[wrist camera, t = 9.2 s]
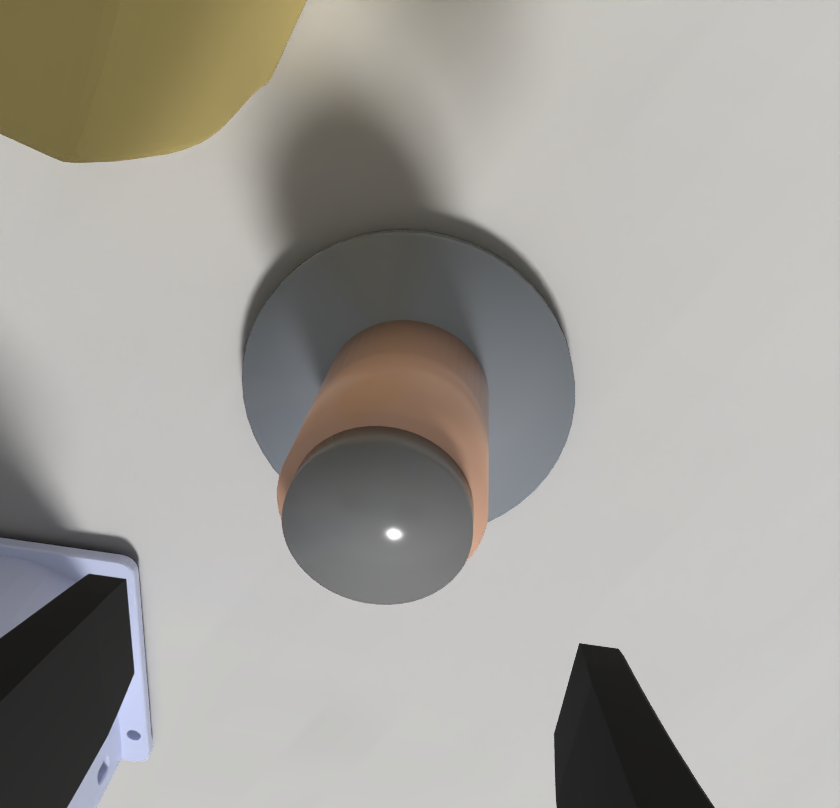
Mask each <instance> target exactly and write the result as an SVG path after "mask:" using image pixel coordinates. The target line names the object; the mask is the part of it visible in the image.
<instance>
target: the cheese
mask: <svg viewBox="0 0 840 808" xmlns="http://www.w3.org/2000/svg"><path fill="white" fill-rule="evenodd" d="M306 1H307V0H0V134H2V135H4V136H6V137H9V138H11V139H13V140H15V141H18V142H20V143H22V144H24V145H26V146H29V147H31V148H33V149H35V150H37V151H39V152H42V153H44V154H46V155H48V156H50V157H53V158H55V159H58V160H60V161H63V162H71V163H87V162H111V161H121V160H130V159H137V158H144V157H150V156H157V155H165V154H170V153H173V152H177V151H181V150H184V149H187V148H189V147H191V146H194V145H196V144H199V143H201V142H203V141H205V140H206V139H208V138H209V137H211V136H212V135H214V134H215V133H216V132H218V131H219V130H220V129H221V128H222V127H223V126H224V125H225V124H226V123H227V122H228V121H229V120H230V119H231V118H232V117H233V116H234V114H235V113H236V112H237V111H238V110H239V109H240V108H241V107H242V106H243V104H244V103H245V102H246V101H247V100H248V99H249V98H250V97H251V96H252V95H253V93H255V92H256V91H257V90H258V89H259V88H261V87H262V86H264V85H266V83H267V82H268V81H269V80H270V78H271V77H272V75H273V73H274V71H275V69H276V66H277V64H278V62H279V60H280V57H281V55H282V53H283V51H284V49H285V46H286V44H287V42H288V40H289V37H290V35H291V33H292V31H293V29H294V27H295V25H296V22H297V20H298V18H299V16H300V14H301V12H302V10H303V7H304V5H305V3H306Z"/></svg>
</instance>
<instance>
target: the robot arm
mask: <svg viewBox="0 0 840 808" xmlns="http://www.w3.org/2000/svg"><path fill="white" fill-rule="evenodd" d="M554 747H555V785H556V804H557V808H715V807H714V806H713V804H712V803H711V801H710V800H709V798H708V797H707V795H706V794H705V792H704V791H703V789H702V788H701V786H700V785H699V783H698V782H697V780H696V779H695V777H694V775H693V774H692V772H691V771H690V769H689V767H688V766H687V764H686V763H685V761H684V760H683V758H682V756H681V755H680V753H679V752H678V750H677V748H676V747H675V745H674V744H673V742H672V740H671V739H670V737H669V735H668V734H667V732H666V730H665V729H664V727H663V725H662V724H661V722H660V720H659V718H658V717H657V715H656V713H655V711H654V710H653V708H652V706H651V705H650V703H649V701H648V699H647V697H646V696H645V694H644V692H643V690H642V689H641V687H640V685H639V683H638V681H637V680H636V678H635V676H634V674H633V672H632V670H631V668H630V667H629V665H628V663H627V661H626V659H625V657H624V656H623V654H622V653H621V652H620V650H619V649H616V648H609V647H602V646H595V645H588V644H581V643H579V646H578V650H577V654H576V657H575V661H574V664H573V668H572V672H571V675H570V679H569V682H568V686H567V690H566V693H565V697H564V700H563V704H562V708H561V711H560V715H559V718H558V722H557V726H556V729H555V733H554ZM151 751H152V735H151V722H150V710H149V697H148V685H147V672H146V660H145V647H144V634H143V622H142V609H141V597H140V584H139V572H138V567H137V564H136V563H135V562H134V560H132V559H131V558H129V557H128V556H124V555H120V554H113V553H105V552H98V551H91V550H84V549H77V548H70V547H63V546H56V545H49V544H42V543H35V542H28V541H21V540H14V539H7V538H0V808H97V806H98V804H99V802H100V800H101V798H102V796H103V794H104V792H105V790H106V788H107V786H108V784H109V782H110V780H111V778H112V776H113V774H114V772H115V770H116V768H117V766H118V764H119V762H120V760H127V761H134V762H142V761H145V760H147V759H148V758H149V756H150V754H151Z"/></svg>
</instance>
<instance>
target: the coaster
mask: <svg viewBox="0 0 840 808" xmlns="http://www.w3.org/2000/svg"><path fill="white" fill-rule="evenodd" d="M395 320H412V321H420V322H424V323H429V324H432V325H434V326H437V327H440V328H442V329H444V330H446V331H448V332H450V333H451V334H453V335H454V336H456V337H457V338H459V339H460V340H461V341H462V342H463V343H464V344H465V345H467V346H468V348H469V349H470V350H471V351H472V352H473V353H474V355H475V356H476V358H477V359H478V361H479V362H480V364H481V366H482V369H483V371H484V373H485V376H486V380H487V384H488V390H489V491H488V520H487V522H489V521H491V520H493V519H495V518H497V517H499V516H501V515H503V514H505V513H506V512H508V511H509V510H511V509H512V508H514V507H515V506H517V505H518V504H519V503H521V502H522V501H523V500H524V499H525V498H526V497H528V496H529V495H530V494H531V493H532V492H533V491H534V490H535V489H536V488H537V487H538V486H539V485H540V484H541V482H542V481H543V480H544V479H545V478H546V477H547V475H548V474H549V472H550V471H551V469H552V468H553V466H554V465H555V463H556V462H557V460H558V458H559V456H560V454H561V452H562V450H563V448H564V446H565V444H566V441H567V438H568V434H569V431H570V428H571V425H572V419H573V413H574V406H575V381H574V374H573V367H572V361H571V357H570V354H569V350H568V347H567V344H566V340H565V337H564V334H563V332H562V330H561V327H560V325H559V323H558V321H557V319H556V317H555V315H554V313H553V312H552V310H551V309H550V307H549V306H548V304H547V302H546V301H545V299H544V298H543V297H542V295H541V294H540V293H539V292H538V291H537V290H536V289H535V287H534V286H533V285H532V284H531V283H530V282H529V281H528V280H527V279H526V278H525V277H524V276H523V275H522V274H521V273H519V272H518V271H517V270H516V269H515V268H514V267H513V266H511V265H510V264H508V263H507V262H505V261H504V260H502V259H501V258H499V257H498V256H496V255H495V254H493V253H491V252H489V251H487V250H485V249H483V248H481V247H479V246H477V245H475V244H473V243H471V242H468V241H465V240H462V239H459V238H456V237H453V236H450V235H445V234H440V233H435V232H430V231H421V230H406V229H401V230H386V231H377V232H372V233H367V234H362V235H357V236H355V237H352V238H349V239H346V240H343V241H340V242H337V243H335V244H333V245H331V246H329V247H327V248H325V249H323V250H321V251H320V252H318V253H316V254H314V255H313V256H312V257H310V258H309V259H307V260H306V261H305V262H303V263H302V264H300V265H299V266H298V267H297V268H296V269H295V270H294V271H293V272H292V273H291V274H290V275H288V276H287V277H286V278H285V279H284V280H283V282H282V283H281V284H280V285H279V286H278V288H277V289H276V290H275V291H274V293H273V294H272V295H271V296H270V298H269V299H268V300H267V302H266V303H265V304H264V306H263V308H262V310H261V311H260V313H259V315H258V317H257V319H256V320H255V322H254V325H253V328H252V330H251V333H250V335H249V338H248V341H247V346H246V350H245V355H244V359H243V372H242V386H243V399H244V404H245V408H246V413H247V418H248V420H249V423H250V426H251V429H252V432H253V434H254V437H255V439H256V441H257V442H258V444H259V446H260V448H261V450H262V452H263V454H264V455H265V457H266V458H267V460H268V461H269V463H270V464H271V466H272V467H273V469H274V470H275V471H276V472H277V473H278V474H279V475H280V472H281V469H282V466H283V464H284V462H285V460H286V458H287V456H288V454H289V452H290V450H291V447H292V445H293V443H294V441H295V439H296V437H297V435H298V433H299V431H300V429H301V427H302V425H303V423H304V420H305V418H306V416H307V414H308V412H309V410H310V408H311V406H312V404H313V402H314V400H315V398H316V395H317V393H318V391H319V389H320V387H321V385H322V383H323V381H324V379H325V377H326V375H327V373H328V371H329V368H330V366H331V364H332V362H333V360H334V358H335V356H336V355H337V353H338V352H339V351H340V349H341V348H342V347H343V346H344V345H345V344H346V343H347V341H348V340H350V339H351V338H352V337H353V336H355V335H356V334H358V333H359V332H361V331H363V330H364V329H366V328H369V327H371V326H373V325H376V324H379V323H383V322H388V321H395Z"/></svg>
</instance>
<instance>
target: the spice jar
mask: <svg viewBox="0 0 840 808" xmlns="http://www.w3.org/2000/svg"><path fill="white" fill-rule="evenodd" d="M488 491H489V390H488V384H487V380H486V376H485V373H484V371H483V369H482V366H481V364H480V362H479V361H478V359H477V358H476V356H475V355H474V353H473V352H472V351H471V350H470V349H469V348H468V346H467V345H465V344H464V343H463V342H462V341H461V340H460V339H459V338H457V337H456V336H454V335H453V334H451V333H450V332H448V331H446V330H444V329H442V328H440V327H437V326H434V325H432V324H429V323H424V322H420V321H412V320H395V321H388V322H383V323H379V324H376V325H373V326H371V327H369V328H366V329H364V330H363V331H361V332H359V333H358V334H356V335H355V336H353V337H352V338H351V339H350V340H348V341H347V343H346V344H345V345H344V346H343V347H342V348H341V349H340V351H339V352H338V353H337V355H336V356H335V358H334V360H333V362H332V364H331V366H330V368H329V371H328V373H327V375H326V377H325V379H324V381H323V383H322V385H321V387H320V389H319V391H318V393H317V395H316V398H315V400H314V402H313V404H312V406H311V408H310V410H309V412H308V414H307V416H306V418H305V420H304V423H303V425H302V427H301V429H300V431H299V433H298V435H297V437H296V439H295V441H294V443H293V445H292V447H291V450H290V452H289V454H288V456H287V458H286V460H285V462H284V464H283V466H282V469H281V472H280V476H279V480H278V487H277V502H278V508H279V513H280V516H281V520H282V528H283V534H284V537H285V541H286V544H287V546H288V548H289V550H290V552H291V554H292V556H293V557H294V559H295V560H296V562H297V563H298V564H299V566H300V567H301V568H302V569H303V570H304V571H305V572H306V573H307V574H308V575H309V576H310V577H311V578H312V579H313V580H315V581H316V582H317V583H319V584H320V585H321V586H323V587H325V588H326V589H328V590H330V591H332V592H334V593H336V594H338V595H340V596H343V597H346V598H349V599H352V600H355V601H359V602H364V603H370V604H382V605H391V604H402V603H407V602H412V601H415V600H419V599H422V598H424V597H427V596H429V595H431V594H433V593H435V592H437V591H438V590H440V589H442V588H443V587H444V586H446V585H447V584H448V583H449V582H451V581H452V580H453V579H454V577H455V576H456V575H457V574H458V573H459V572H460V570H461V569H462V567H463V566H464V564H465V562H466V561H467V560H468V559H469V558H470V557H471V556H472V554H473V553H474V551H475V550H476V549H477V547H478V545H479V543H480V541H481V539H482V537H483V535H484V532H485V529H486V526H487V520H488Z"/></svg>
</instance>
